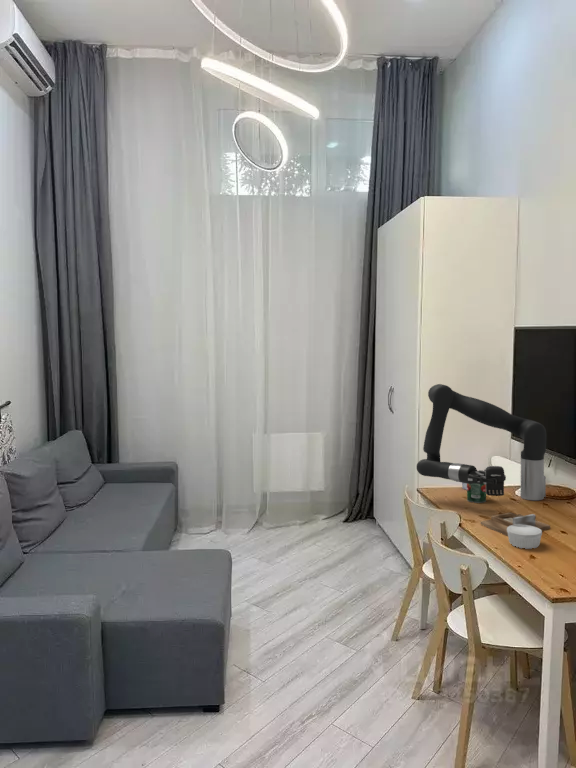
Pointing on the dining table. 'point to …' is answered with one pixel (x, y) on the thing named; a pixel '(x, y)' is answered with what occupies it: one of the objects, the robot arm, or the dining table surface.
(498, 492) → the battery charger
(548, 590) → the dining table surface
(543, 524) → the rail board
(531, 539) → the ramekin
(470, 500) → the canned tomato
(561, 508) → the dining table surface
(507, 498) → the dining table surface
